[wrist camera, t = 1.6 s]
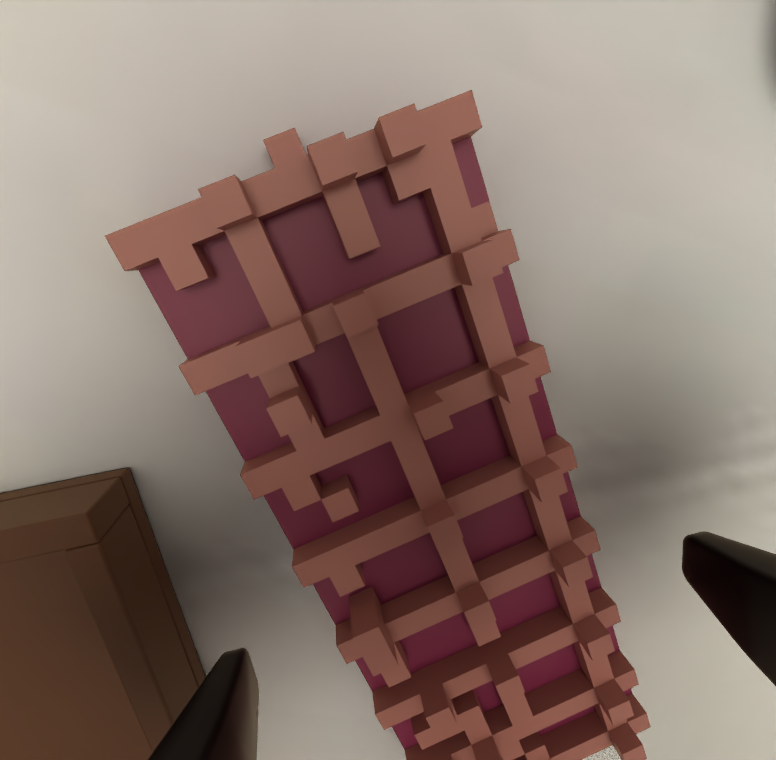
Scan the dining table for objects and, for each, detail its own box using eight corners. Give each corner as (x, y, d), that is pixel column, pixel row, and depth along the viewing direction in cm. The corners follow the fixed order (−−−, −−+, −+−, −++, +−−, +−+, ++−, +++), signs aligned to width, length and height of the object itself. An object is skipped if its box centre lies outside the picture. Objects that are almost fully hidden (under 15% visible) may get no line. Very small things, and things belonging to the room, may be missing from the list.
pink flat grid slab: (441, 79, 9) (473, 32, 7) (622, 687, 15) (666, 749, 13) (116, 207, 9) (63, 193, 7) (428, 777, 15) (444, 854, 13)
